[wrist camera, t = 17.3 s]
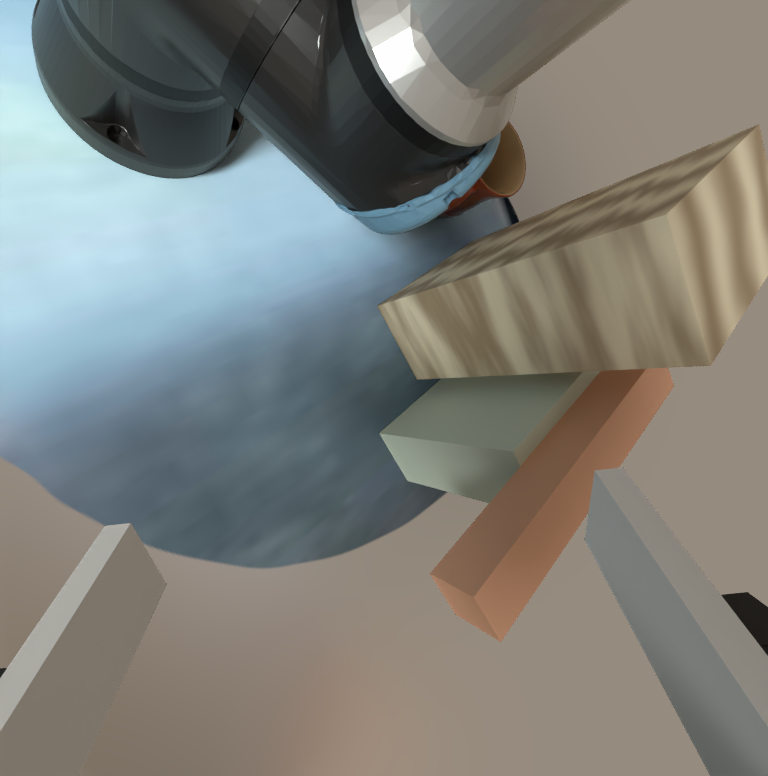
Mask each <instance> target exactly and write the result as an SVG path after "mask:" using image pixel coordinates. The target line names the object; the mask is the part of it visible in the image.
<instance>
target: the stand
mask: <svg viewBox="0 0 768 776" xmlns="http://www.w3.org/2000/svg"><path fill="white" fill-rule="evenodd" d="M767 276H768V163H767V159H766V154H765V150H764V145H763V140H762V136H761V131H760V126H759V125H756V126H754V127H751V128H749V129H746V130H744V131H741V132H739V133H737V134H734V135H732V136H729V137H727V138H724V139H722V140H719V141H717V142H715V143H712V144H710V145H707V146H705V147H702V148H700V149H697V150H695V151H692V152H690V153H688V154H685V155H683V156H680V157H678V158H675V159H673V160H670V161H668V162H665V163H663V164H661V165H658V166H656V167H653V168H651V169H648V170H646V171H644V172H641V173H639V174H636V175H634V176H631V177H629V178H626V179H624V180H621V181H619V182H617V183H614V184H612V185H609V186H607V187H604V188H602V189H600V190H597V191H594V192H592V193H590V194H587V195H585V196H582V197H580V198H577V199H575V200H572V201H570V202H568V203H565V204H563V205H560V206H558V207H555V208H553V209H551V210H548V211H545V212H543V213H541V214H538V215H536V216H533V217H531V218H529V219H526V220H524V221H521V222H519V223H516V224H514V225H511V226H509V227H506V228H504V229H501V230H499V231H497V232H494V233H492V234H489V235H487V236H484V237H482V238H479V239H477V240H474V241H472V242H470V243H469V244H467V245H466V246H464V247H463V248H462V249H460V250H459V251H457V252H456V253H454V254H453V255H451V256H450V257H448V258H447V259H445V260H444V261H442V262H441V263H440V264H438V265H437V266H435V267H434V268H432V269H431V270H429V271H428V272H426V273H425V274H423V275H422V276H420V277H419V278H418V279H416V280H415V281H413V282H412V283H410V284H409V285H407V286H406V287H404V288H403V289H401V290H400V291H398V292H397V293H396V294H394V295H393V296H391V297H390V298H388V299H387V300H385V301H384V302H382V303H381V304H379V305H378V306H377V307H378V308H379V310H380V312H381V314H382V316H383V318H384V319H385V321H386V323H387V325H388V327H389V329H390V331H391V332H392V334H393V336H394V338H395V340H396V342H397V344H398V345H399V347H400V349H401V351H402V353H403V355H404V356H405V358H406V360H407V362H408V364H409V366H410V368H411V369H412V371H413V373H414V375H415V377H416V379H417V380H418V379H439V378H461V377H482V376H503V375H524V374H545V373H566V372H587V371H608V370H629V369H650V368H670V367H690V366H691V367H692V366H710V365H711V364H712V363H713V361H714V360H715V358H716V356H717V355H718V353H719V352H720V350H721V349H722V347H723V345H724V344H725V342H726V341H727V339H728V337H729V336H730V334H731V333H732V331H733V329H734V328H735V326H736V325H737V323H738V322H739V320H740V318H741V317H742V315H743V314H744V312H745V311H746V309H747V308H748V305H749V304H750V303H751V301H752V300H753V298H754V296H755V295H756V293H757V292H758V290H759V289H760V287H761V285H762V284H763V282H764V280H765V279H766V278H767Z"/></svg>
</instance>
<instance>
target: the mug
mask: <svg viewBox="0 0 768 776" xmlns="http://www.w3.org/2000/svg"><path fill="white" fill-rule="evenodd" d="M525 170H526V162H525V155H524V150H523V146H522V144H521V141H520V139H519V136H518V134H517V132H516V131H515V129H514V128H513V126H512V125H511V124H510V123H509V121H508V122H507V124H506V126H505V127H504V129H503V130H502V131H501V135H500V142H499V145H498V148H497V151H496V153H495V155H494V157H493V159H492V161H491V163H490V164H489V166H488V167H487V169H486V170H485V172H484V173H483V174H482V176H481V177H480V178H479V179H478V181H477V182H476V183H475V184H474V185H473V186H472V187H471V188H470V189H469V190H468V191H467V192H466V193H465V194H464V195H463V196H462V197H457V198H455V199H453V200H452V201H451V202H450V204H449V207H448V209H447V210H445V211H444V212H443V213H441V214H440V215H439V216H437V217H438V218H451V217H454V216H458V215H461V214H462V213H464V212H466V211H468V210H470V209H471V208H473V207H475V206H477V205H478V204H480V203H482V202H484V201H486V200H489V199H494V198H505V197H510V196H512V195H514V194H515V193H516V192H518V190H519V189H520V188H521V186H522V184H523V181H524V177H525Z"/></svg>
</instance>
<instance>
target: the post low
mask: <svg viewBox="0 0 768 776" xmlns="http://www.w3.org/2000/svg"><path fill="white" fill-rule="evenodd" d="M599 372H600V371H587V372H566V373H545V374H524V375H503V376H482V377H461V378H442V379H440V380H439V381H438V382H437V383H436V384H435V385H434V386H432V387H431V388H430V389H429V390H428V391H427V392H426V393H424V394H423V395H422V396H421V397H420V398H419V399H418V400H417V401H415V402H414V403H413V404H412V405H411V406H410V407H409V408H407V409H406V410H405V411H404V412H403V413H402V414H401V415H399V416H398V417H397V418H396V419H395V420H394V421H393V422H391V423H390V424H389V425H388V426H387V427H386V428H385V429H384V430H382V431H381V432H380V433H379V434H380V436H381V437H382V439H383V441H384V442H385V444H386V446H387V447H388V449H389V451H390V452H391V454H392V456H393V457H394V459H395V461H396V462H397V464H398V466H399V467H400V469H401V471H402V472H403V474H404V476H405V477H406V479H407V481H410V482H414V483H418V484H421V485H425V486H429V487H432V488H436V489H439V490H443V491H447V492H450V493H454V494H458V495H462V496H465V497H469V498H472V499H476V500H479V501H483V502H486V503H490V502H491V501H492V499H493V498H494V497H495V496H496V495H497V494H498V492H499V491H500V490H501V489H502V488H503V486H504V485H505V484H506V483H507V482H508V480H509V479H510V478H511V477H512V476H513V474H514V473H515V472H516V471H517V470H518V469H519V467H520V466H521V465H522V464H523V463H524V461H525V460H526V459H527V458H528V457H529V456H530V454H531V453H532V452H533V451H534V450H535V448H536V447H537V446H538V445H539V444H540V442H541V441H542V440H543V439H544V438H545V436H546V435H547V434H548V433H549V432H550V431H551V429H552V428H553V427H554V426H555V425H556V423H557V422H558V421H559V420H560V419H561V417H562V416H563V415H564V414H565V413H566V412H567V410H568V409H569V408H570V407H571V406H572V404H573V403H574V402H575V401H576V400H577V398H578V397H579V396H580V395H581V394H582V393H583V391H584V390H585V389H586V388H587V387H588V385H589V384H590V383H591V382H592V381H593V379H594V378H595V377H596V376H597V375H598V374H599Z"/></svg>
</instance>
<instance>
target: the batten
mask: <svg viewBox="0 0 768 776" xmlns="http://www.w3.org/2000/svg"><path fill="white" fill-rule="evenodd" d="M673 387H674V384H673V381H672V379H671V375H670V372H669V369H668V368H650V369H629V370H608V371H600V372H599V374H598V375H597V376H596V377H595V378H594V379H593V381H592V382H591V383H590V384H589V385H588V387H587V388H586V389H585V390H584V391H583V393H582V394H581V395H580V396H579V397H578V398H577V400H576V401H575V402H574V403H573V404H572V406H571V407H570V408H569V409H568V410H567V412H566V413H565V414H564V415H563V416H562V417H561V419H560V420H559V421H558V422H557V423H556V425H555V426H554V427H553V428H552V429H551V431H550V432H549V433H548V434H547V435H546V436H545V438H544V439H543V440H542V441H541V442H540V444H539V445H538V446H537V447H536V448H535V450H534V451H533V452H532V453H531V454H530V456H529V457H528V458H527V459H526V460H525V461H524V463H523V464H522V465H521V466H520V467H519V469H518V470H517V471H516V472H515V473H514V474H513V476H512V477H511V478H510V479H509V480H508V482H507V483H506V484H505V485H504V486H503V488H502V489H501V490H500V491H499V492H498V494H497V495H496V496H495V497H494V498H493V499H492V501H491V502H490V503H489V504H488V505H487V507H486V508H485V509H484V510H483V511H482V513H481V514H480V515H479V516H478V517H477V518H476V520H475V521H474V522H473V523H472V524H471V526H470V527H469V528H468V529H467V530H466V532H465V533H464V534H463V535H462V536H461V538H460V539H459V540H458V541H457V542H456V543H455V545H454V546H453V547H452V548H451V549H450V551H449V552H448V553H447V554H446V555H445V556H444V558H443V559H442V560H441V561H440V562H439V564H438V565H437V566H436V567H435V568H434V570H433V571H432V572H431V573H430V575H431V576H432V578H433V579H434V581H435V582H436V584H437V586H438V587H439V589H440V590H441V592H442V593H443V595H444V597H445V598H446V600H447V602H448V603H449V605H450V606H451V608H452V609H453V611H454V612H455V614H456V615H457V616H459V617H461V618H462V619H464V620H466V621H467V622H469V623H471V624H472V625H474V626H476V627H477V628H479V629H480V630H482V631H484V632H485V633H487V634H489V635H490V636H492V637H493V638H495V639H497V640H498V641H500V642H501V641H502V639H503V638H504V636H505V635H506V633H507V632H508V630H509V629H510V627H511V626H512V625H513V623H514V622H515V620H516V618H517V617H518V616H519V614H520V612H521V611H522V610H523V608H524V607H525V605H526V604H527V602H528V601H529V599H530V598H531V597H532V595H533V594H534V592H535V591H536V589H537V587H538V586H539V585H540V583H541V582H542V580H543V579H544V577H545V576H546V574H547V573H548V571H549V570H550V569H551V567H552V565H553V564H554V563H555V561H556V560H557V558H558V557H559V555H560V554H561V552H562V551H563V549H564V548H565V546H566V545H567V543H568V542H569V540H570V539H571V538H572V536H573V534H574V533H575V532H576V530H577V529H578V527H579V526H580V524H581V523H582V521H583V520H584V518H585V517H586V515H587V514H588V512H589V505H590V498H591V492H592V485H593V478H594V471H595V470H603V469H612V468H619V467H620V465H621V464H622V462H623V461H624V459H625V458H626V456H627V455H628V453H629V452H630V451H631V449H632V448H633V446H634V445H635V443H636V441H637V440H638V439H639V437H640V436H641V434H642V433H643V431H644V430H645V428H646V427H647V425H648V424H649V422H650V421H651V420H652V418H653V417H654V415H655V414H656V412H657V411H658V409H659V408H660V406H661V404H662V403H663V402H664V400H665V399H666V397H667V396H668V394H669V393H670V391H671V390H672V388H673Z"/></svg>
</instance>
